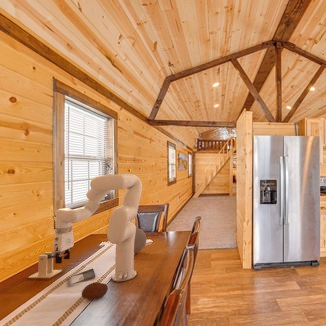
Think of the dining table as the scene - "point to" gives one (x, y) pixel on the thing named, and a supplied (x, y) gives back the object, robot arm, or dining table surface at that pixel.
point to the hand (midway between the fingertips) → (62, 260)
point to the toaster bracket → (45, 267)
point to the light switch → (86, 275)
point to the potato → (94, 291)
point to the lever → (55, 257)
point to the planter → (139, 240)
